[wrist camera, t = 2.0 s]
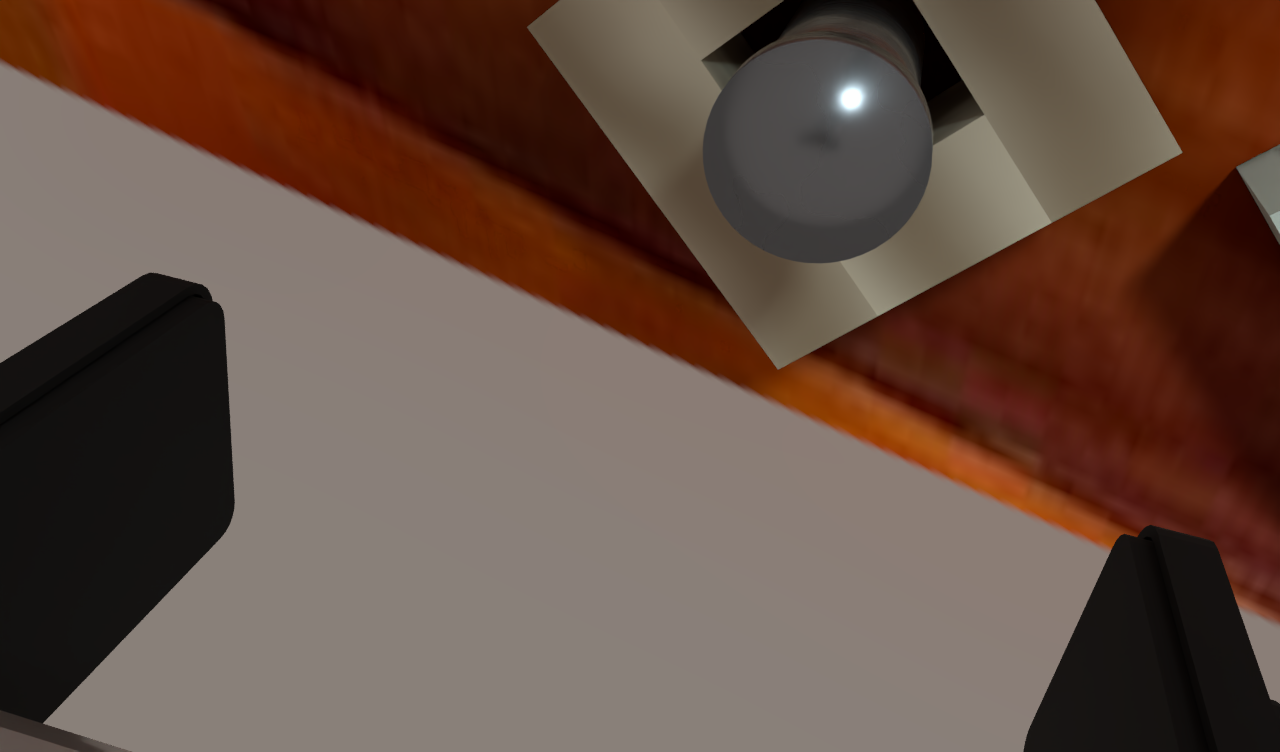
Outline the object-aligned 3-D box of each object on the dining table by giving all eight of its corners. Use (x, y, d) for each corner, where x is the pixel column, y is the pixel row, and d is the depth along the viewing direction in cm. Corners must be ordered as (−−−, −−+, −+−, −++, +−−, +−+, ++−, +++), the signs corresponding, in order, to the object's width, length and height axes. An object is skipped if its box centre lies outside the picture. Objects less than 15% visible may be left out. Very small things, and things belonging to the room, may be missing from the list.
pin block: (929, -289, 28) (923, -298, 24) (1151, 99, 31) (1182, 152, 27) (580, -6, 34) (526, 27, 30) (798, 299, 37) (777, 369, 33)
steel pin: (882, -78, 31) (849, -9, 21) (970, 66, 32) (977, 190, 23) (743, 24, 33) (659, 126, 24) (830, 154, 34) (783, 300, 25)
